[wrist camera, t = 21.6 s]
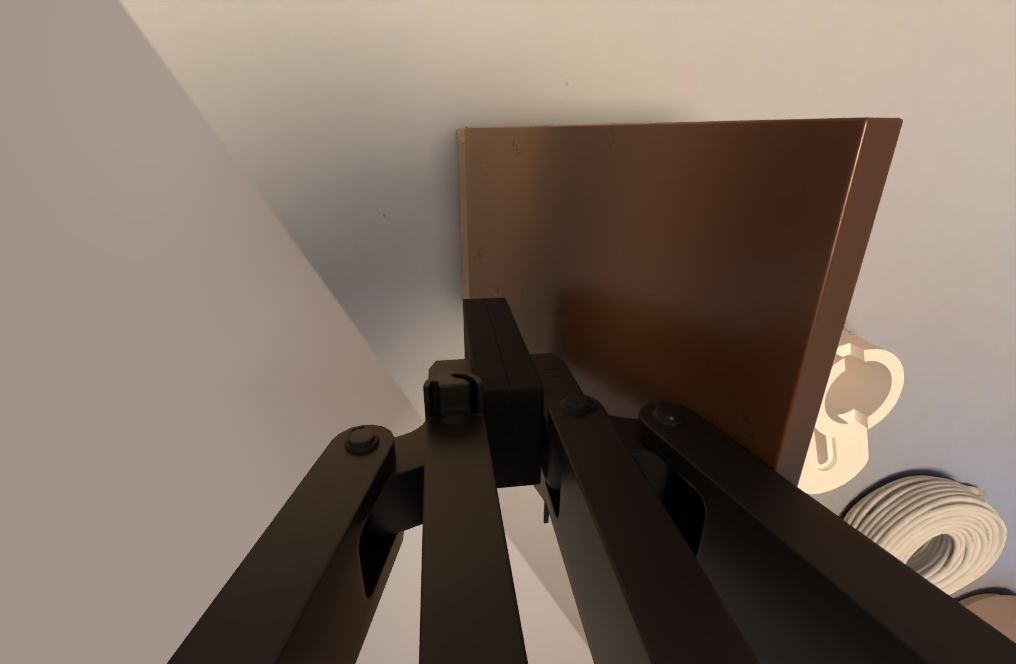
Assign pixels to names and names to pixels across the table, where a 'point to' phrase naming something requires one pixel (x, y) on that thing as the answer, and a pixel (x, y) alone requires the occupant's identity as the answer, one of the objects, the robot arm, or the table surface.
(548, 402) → the robot arm
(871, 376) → the bracket
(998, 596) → the container
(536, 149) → the lid
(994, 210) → the table surface
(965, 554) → the cable
